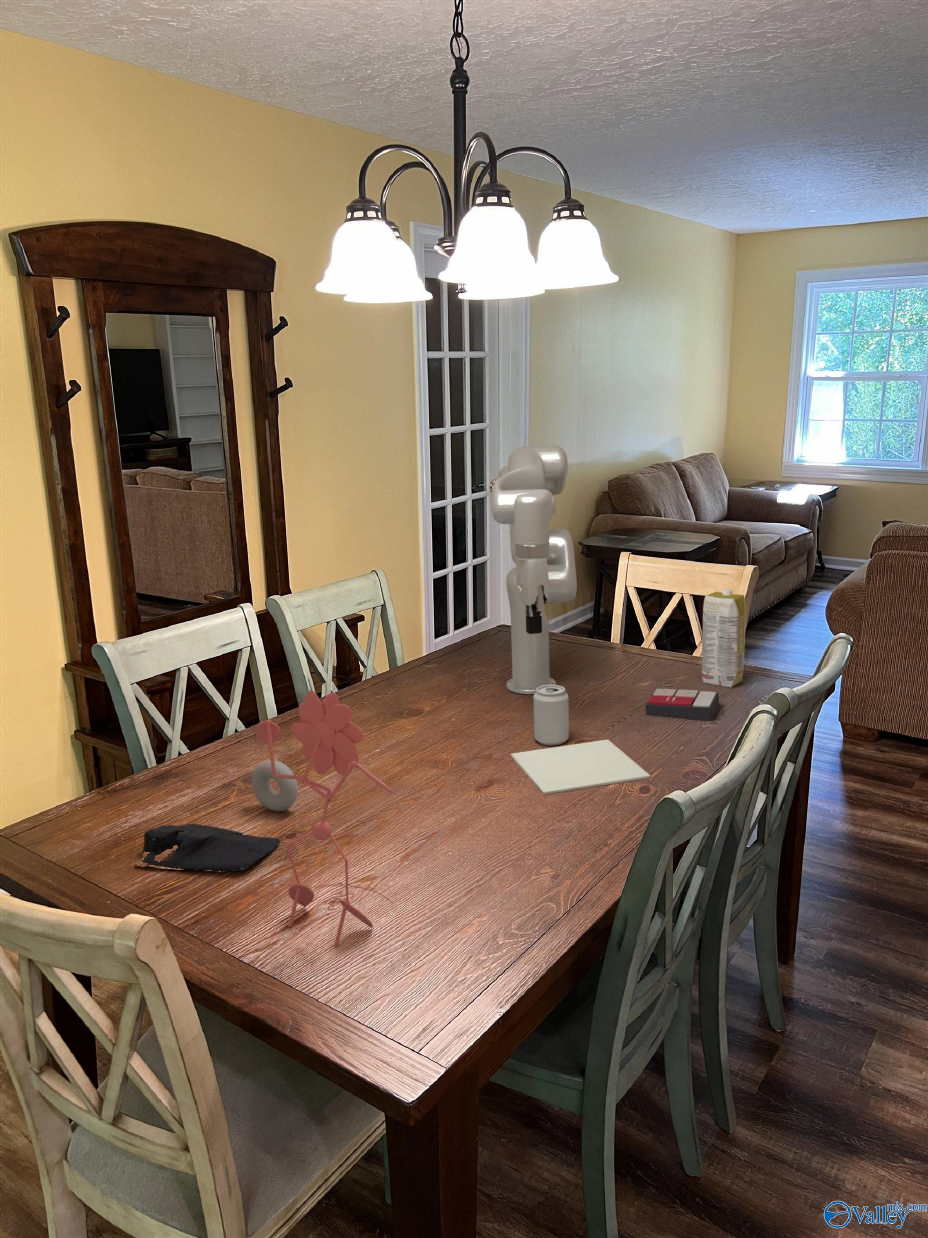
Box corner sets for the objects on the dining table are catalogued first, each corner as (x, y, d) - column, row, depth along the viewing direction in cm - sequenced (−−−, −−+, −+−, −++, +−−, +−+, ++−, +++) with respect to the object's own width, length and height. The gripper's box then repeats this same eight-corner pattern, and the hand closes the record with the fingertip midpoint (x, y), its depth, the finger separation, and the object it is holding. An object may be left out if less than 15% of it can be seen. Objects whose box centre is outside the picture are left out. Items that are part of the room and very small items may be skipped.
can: (573, 736, 200) (572, 684, 197) (562, 749, 194) (561, 695, 191) (541, 732, 204) (540, 681, 201) (529, 744, 197) (528, 691, 194)
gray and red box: (655, 686, 221) (718, 689, 214) (655, 703, 222) (719, 707, 215) (644, 701, 211) (711, 704, 205) (645, 719, 212) (711, 723, 206)
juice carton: (746, 681, 232) (749, 589, 226) (732, 690, 226) (735, 595, 220) (711, 675, 238) (714, 585, 232) (697, 683, 232) (700, 591, 226)
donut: (304, 811, 170) (299, 761, 167) (292, 819, 167) (288, 768, 165) (262, 802, 174) (257, 753, 172) (250, 809, 172) (245, 760, 169)
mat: (510, 756, 191) (510, 753, 191) (607, 741, 197) (607, 739, 197) (543, 794, 173) (543, 792, 172) (650, 777, 178) (650, 775, 178)
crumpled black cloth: (241, 887, 145) (238, 860, 144) (126, 869, 152) (122, 843, 151) (288, 842, 159) (286, 817, 158) (181, 828, 166) (178, 804, 165)
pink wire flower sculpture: (378, 968, 123) (364, 721, 115) (245, 914, 137) (224, 691, 129) (444, 915, 135) (435, 689, 127) (315, 871, 149) (300, 665, 141)
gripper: (505, 547, 204) (507, 626, 209) (527, 558, 190) (529, 643, 195) (536, 544, 206) (538, 623, 211) (560, 555, 192) (562, 639, 196)
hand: (534, 632), depth 203 cm, fingers closed
